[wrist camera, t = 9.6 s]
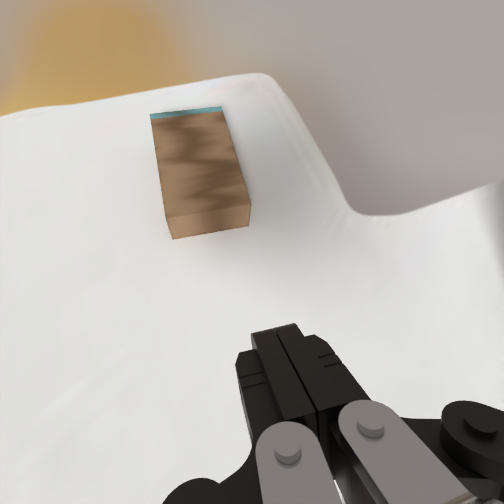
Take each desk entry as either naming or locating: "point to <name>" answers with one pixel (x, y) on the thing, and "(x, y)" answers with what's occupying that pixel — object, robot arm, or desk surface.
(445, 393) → the desk surface
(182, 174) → the walnut block
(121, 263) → the desk surface
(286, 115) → the desk surface
